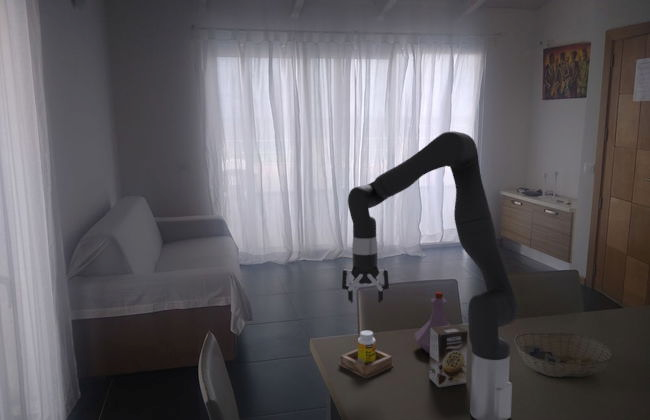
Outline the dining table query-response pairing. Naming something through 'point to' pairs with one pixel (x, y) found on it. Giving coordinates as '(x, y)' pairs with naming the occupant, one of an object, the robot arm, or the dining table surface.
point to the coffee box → (448, 355)
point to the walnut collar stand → (368, 370)
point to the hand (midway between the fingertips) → (365, 301)
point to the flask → (432, 321)
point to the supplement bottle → (366, 348)
